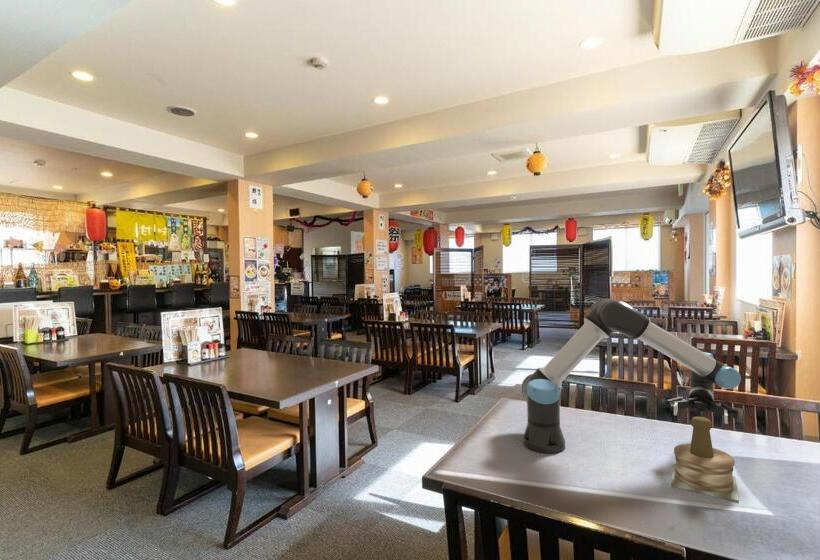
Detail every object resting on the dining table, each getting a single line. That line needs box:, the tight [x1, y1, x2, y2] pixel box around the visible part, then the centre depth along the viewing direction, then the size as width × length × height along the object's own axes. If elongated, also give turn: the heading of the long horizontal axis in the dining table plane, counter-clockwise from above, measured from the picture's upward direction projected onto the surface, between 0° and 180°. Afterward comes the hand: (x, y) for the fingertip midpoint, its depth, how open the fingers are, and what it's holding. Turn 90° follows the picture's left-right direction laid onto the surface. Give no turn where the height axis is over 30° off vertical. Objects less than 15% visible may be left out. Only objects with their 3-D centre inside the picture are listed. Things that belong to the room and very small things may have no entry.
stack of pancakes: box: [670, 443, 740, 503], centre depth 125 cm, size 16×16×9 cm
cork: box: [690, 416, 714, 458], centre depth 125 cm, size 6×6×11 cm
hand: (699, 415), depth 134 cm, fingers open, 13 cm apart
